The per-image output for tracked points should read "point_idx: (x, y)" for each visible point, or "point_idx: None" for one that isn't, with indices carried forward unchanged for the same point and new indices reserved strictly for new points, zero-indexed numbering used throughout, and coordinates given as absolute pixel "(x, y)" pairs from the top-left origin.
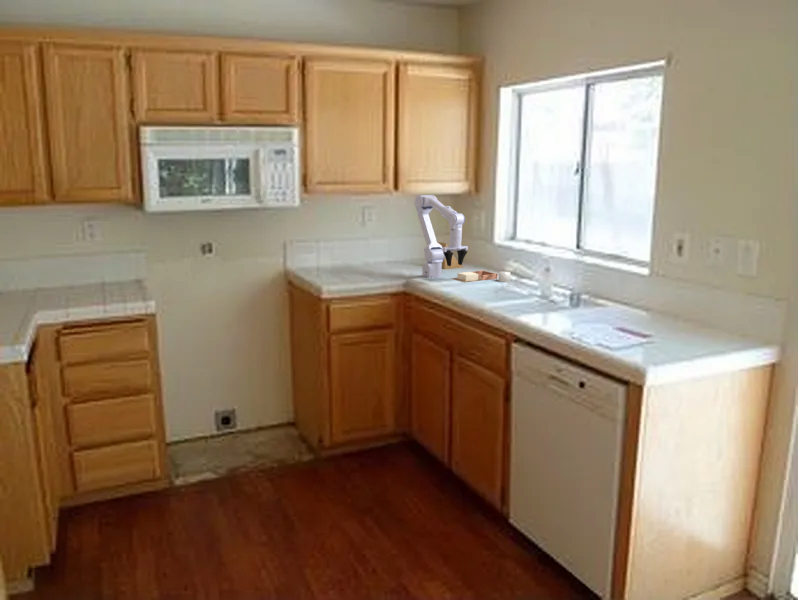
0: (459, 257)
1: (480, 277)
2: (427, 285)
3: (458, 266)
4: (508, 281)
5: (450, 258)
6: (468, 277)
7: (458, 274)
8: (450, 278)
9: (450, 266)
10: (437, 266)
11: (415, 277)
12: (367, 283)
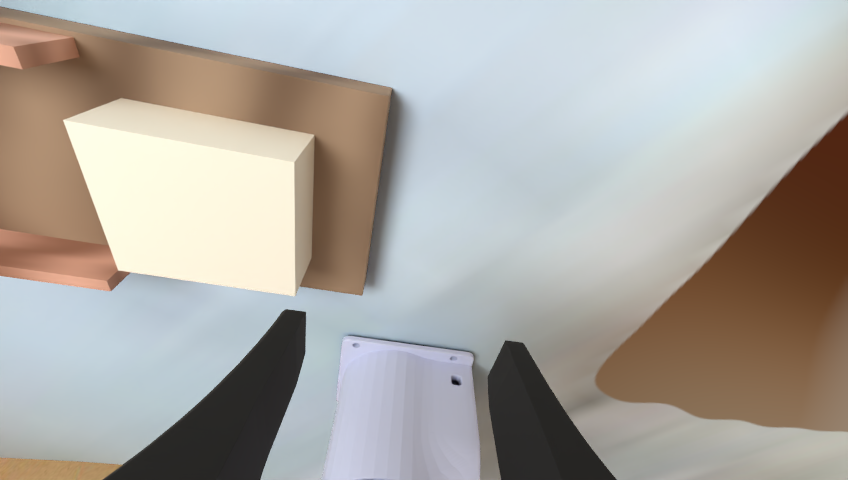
0: (257, 458)
1: (24, 171)
2: (639, 279)
3: (23, 467)
4: None
5: (587, 460)
6: (265, 142)
7: (298, 274)
8: (356, 294)
9: (86, 476)
10: (405, 448)
11: None
12: (774, 454)
